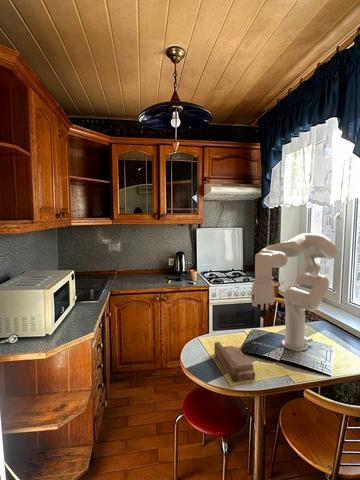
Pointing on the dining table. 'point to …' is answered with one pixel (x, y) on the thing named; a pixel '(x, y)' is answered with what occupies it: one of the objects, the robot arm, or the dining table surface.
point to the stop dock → (232, 365)
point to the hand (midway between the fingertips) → (263, 317)
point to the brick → (239, 359)
